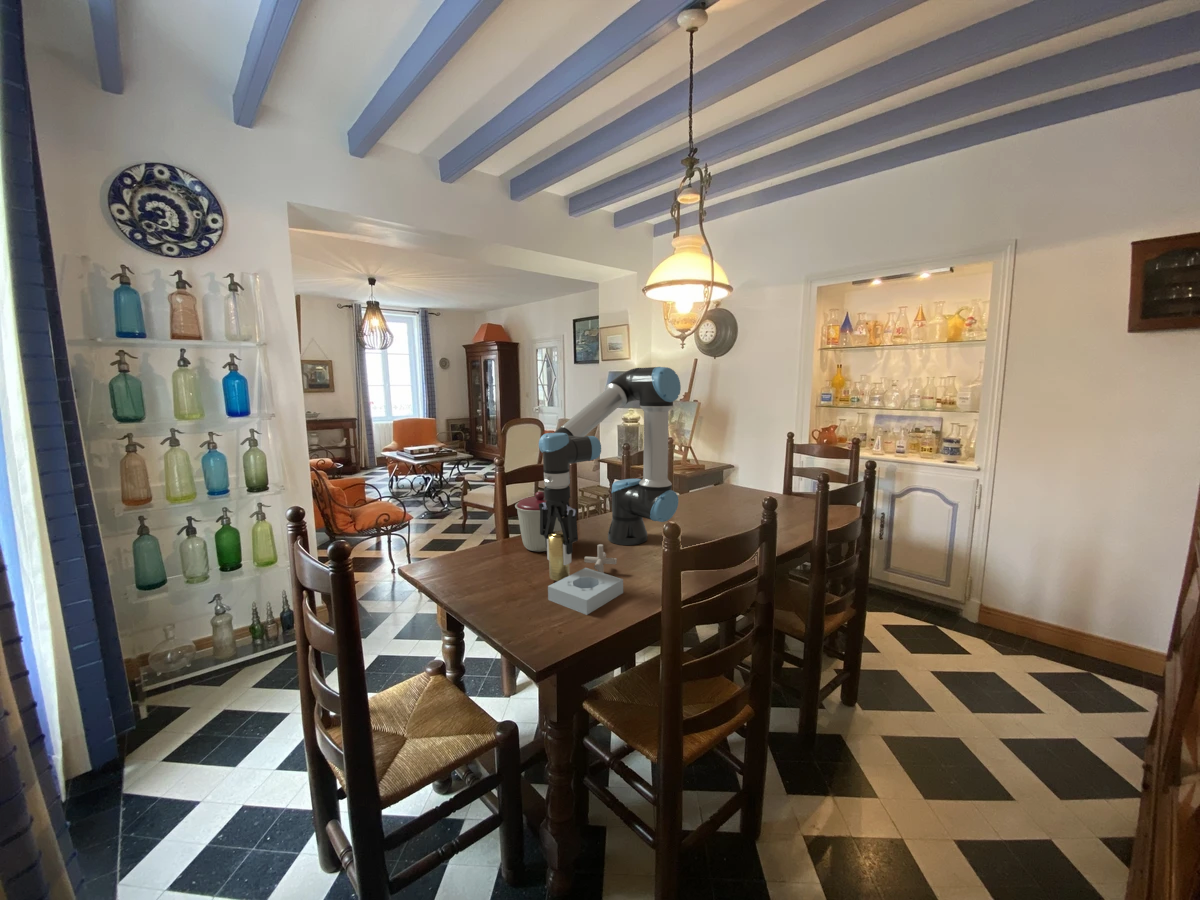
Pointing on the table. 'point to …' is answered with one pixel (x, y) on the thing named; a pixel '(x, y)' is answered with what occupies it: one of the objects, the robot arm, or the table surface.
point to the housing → (585, 590)
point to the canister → (533, 522)
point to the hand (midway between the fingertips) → (559, 560)
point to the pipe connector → (600, 559)
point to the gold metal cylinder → (557, 556)
